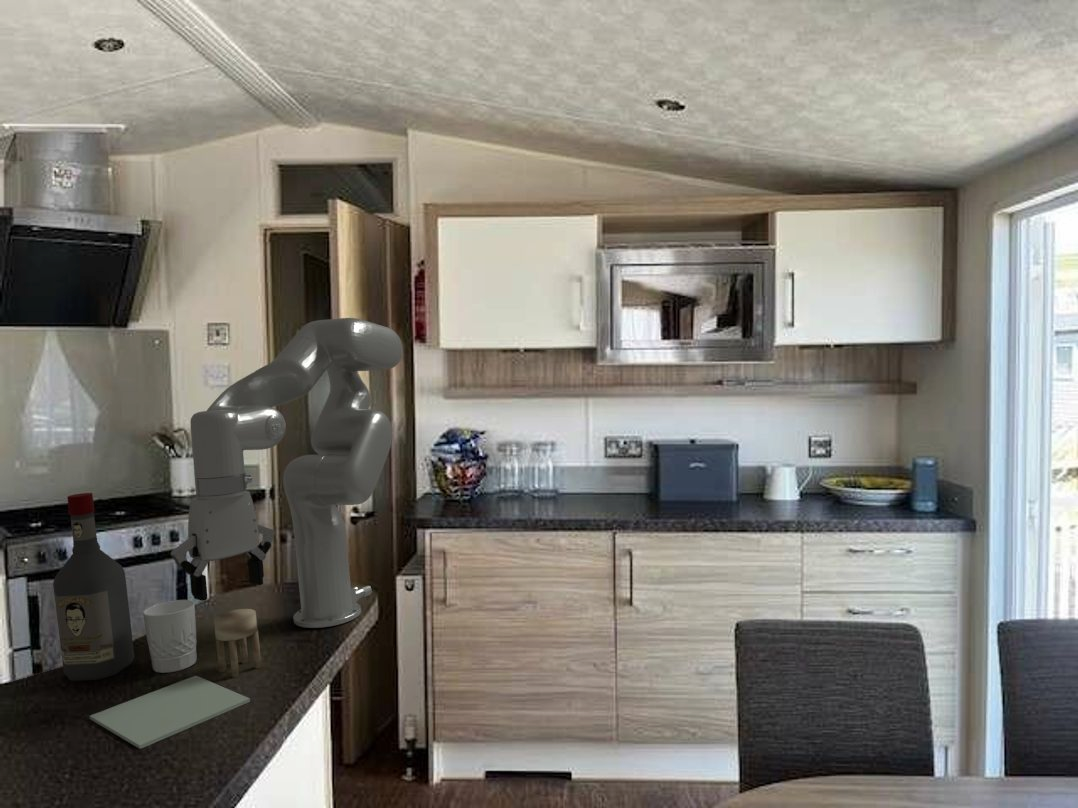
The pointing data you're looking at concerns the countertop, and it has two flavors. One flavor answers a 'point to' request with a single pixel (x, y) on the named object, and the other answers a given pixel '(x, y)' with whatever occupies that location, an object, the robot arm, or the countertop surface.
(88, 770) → the countertop surface
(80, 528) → the liquor
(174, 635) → the white cup
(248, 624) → the round tan stool
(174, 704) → the sage mat
